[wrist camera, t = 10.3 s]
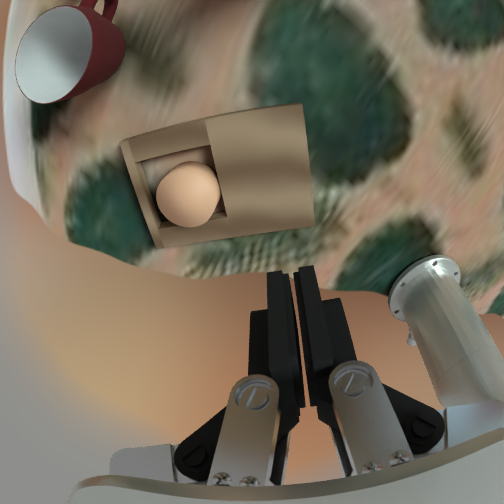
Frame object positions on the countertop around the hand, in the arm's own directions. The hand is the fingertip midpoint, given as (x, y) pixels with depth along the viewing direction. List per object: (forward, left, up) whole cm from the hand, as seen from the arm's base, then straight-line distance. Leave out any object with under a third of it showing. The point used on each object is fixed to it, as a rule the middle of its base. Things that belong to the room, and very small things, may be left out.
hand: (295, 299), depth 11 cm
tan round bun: (-3, +8, -21) cm, 22 cm away
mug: (+15, +13, -21) cm, 29 cm away
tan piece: (-2, +5, -21) cm, 22 cm away
